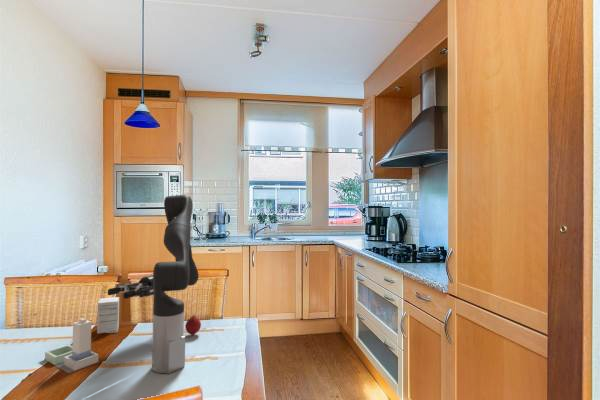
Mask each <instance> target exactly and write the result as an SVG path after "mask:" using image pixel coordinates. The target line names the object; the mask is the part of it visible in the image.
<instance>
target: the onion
mask: <svg viewBox="0 0 600 400" xmlns="http://www.w3.org/2000/svg"><path fill="white" fill-rule="evenodd" d="M184 327H185V331H186V332H187V333H188V334H189V335H191V336H194V335H196V334H197V333H198V332H199V331H200V329H201V327H202V323H201V320H200V319H199V318H198V317H196V314H192V315H191V317H189V318H188V320H187V321H186V323H185V325H184Z"/></svg>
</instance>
